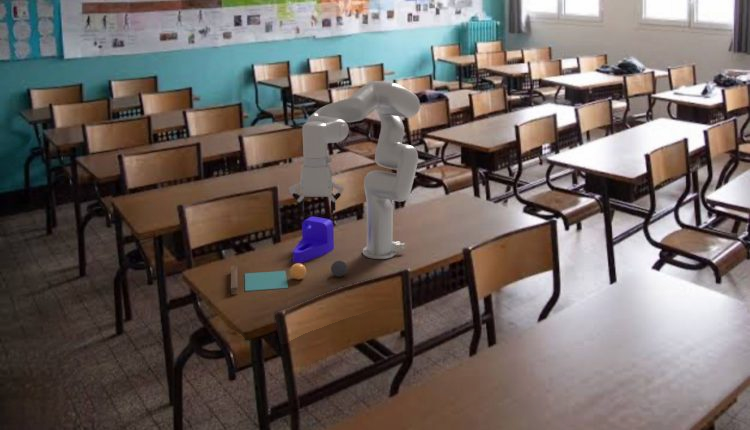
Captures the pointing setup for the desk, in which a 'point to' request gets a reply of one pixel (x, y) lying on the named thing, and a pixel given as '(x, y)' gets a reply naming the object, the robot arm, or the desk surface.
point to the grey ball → (338, 268)
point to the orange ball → (298, 271)
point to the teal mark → (265, 281)
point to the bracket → (314, 239)
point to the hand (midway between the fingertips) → (317, 212)
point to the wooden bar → (234, 280)
